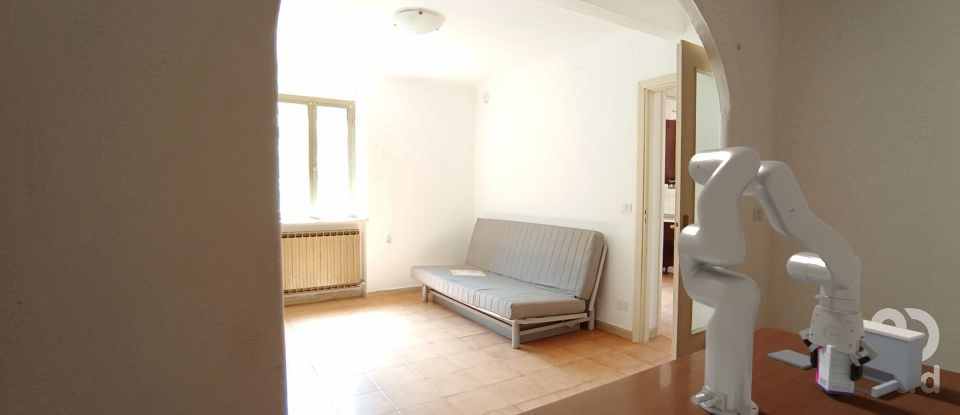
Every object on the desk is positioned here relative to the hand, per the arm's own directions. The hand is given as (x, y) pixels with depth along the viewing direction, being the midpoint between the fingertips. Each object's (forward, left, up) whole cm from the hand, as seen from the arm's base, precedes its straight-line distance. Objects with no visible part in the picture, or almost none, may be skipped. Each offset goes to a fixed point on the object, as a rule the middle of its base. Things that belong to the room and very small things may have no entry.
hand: (834, 373), depth 111 cm
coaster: (+14, +17, -5) cm, 23 cm away
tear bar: (+8, 0, -5) cm, 9 cm away
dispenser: (+17, 0, -5) cm, 18 cm away
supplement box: (0, 0, -4) cm, 4 cm away
